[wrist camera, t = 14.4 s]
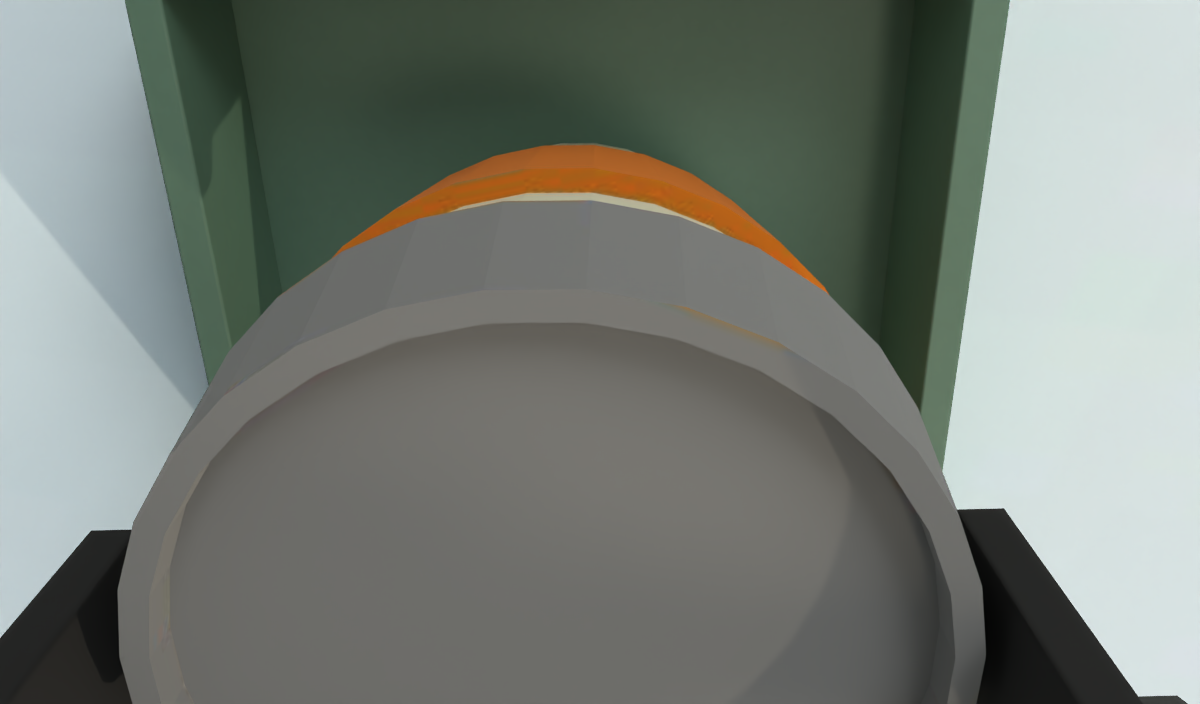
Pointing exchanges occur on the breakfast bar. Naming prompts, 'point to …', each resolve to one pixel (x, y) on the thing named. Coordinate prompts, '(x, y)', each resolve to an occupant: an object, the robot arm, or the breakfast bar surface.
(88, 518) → the breakfast bar surface
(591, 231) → the reusable coffee cup
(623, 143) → the green square tray
